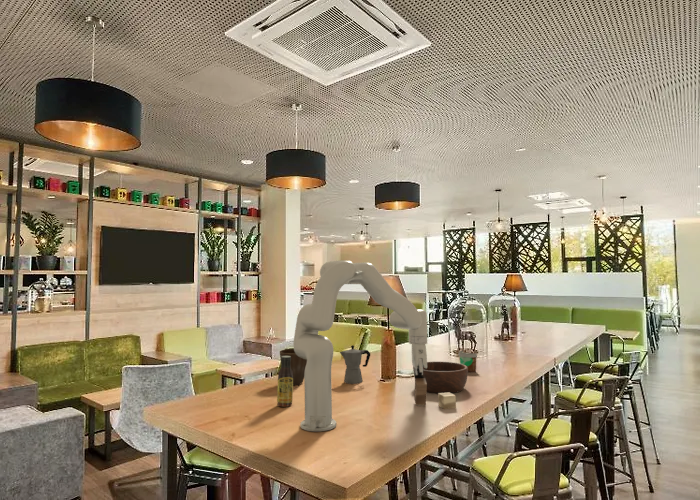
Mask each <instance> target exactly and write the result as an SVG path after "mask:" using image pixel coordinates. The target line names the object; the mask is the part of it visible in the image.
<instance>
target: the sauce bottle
mask: <svg viewBox="0 0 700 500" xmlns="http://www.w3.org/2000/svg"><path fill="white" fill-rule="evenodd" d="M290 361H291V356H281V358H280V363H281V365H280V369H279V371H278V374H277V390H276V391H277V396H276V401H277V406H278V407H280V408H286V407H287V408H288V407H292V405H293V399H294V398H293V393H294V385H293V371H292V369H291V368H290V367H291V366H290Z"/></svg>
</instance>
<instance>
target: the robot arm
mask: <svg viewBox="0 0 700 500" xmlns="http://www.w3.org/2000/svg"><path fill="white" fill-rule="evenodd" d="M319 276H320V277H319V279H318V280H317V282H316V284H315V287H314V290H313V291H314V292H313V296H312V302H311V303H307V304H305V305H303V306H302V307H301V309H300V310H299V311H298V313H297V317H296V324H295V330H294V336H293V345H292V346H293V349H294V351H295V353H296V355H297V356H299V357H300V358H303V359H306V360H307V364H306V367H305V373H304V380H303V382H304V419H303V420H301V422H300V428H301V429H302V430H304V431H307V432H326V431H330V430H333V429H334V428H336V427H337V421H336V420H335V419H334V418H333V405H332V404H333V403H332V402H333V399H332V398H333V397H332V395H333V393H332V390H333V389H332V365H333V358H334V346H333V345H334V344H333V342H332V340H330V338H328V337H327V336H325V335H322V334H319V332H325V331H329V330H330V329H331V328H332V326H333V324H334V322H335V319H334V318H335V313H336V306H337V300H338V295H339V293H340V290H341V288H342V287H343V286H344V285H360V286H362V288H363V289H364V290H365V292H367V293H368V294H369V296H370V297H371V298H372V299H373V301H374V302H375V303H376V304H378V305H381V307H385V308H387V309H390V310H391V311H392V312H391V313H390V314H389V319H388V321H389V323H390V325H391V326H392V327H394V328H396V329H403V330H408V344H409V345H411V364H412V367H413V366H414V367H415V377H414V379H415V378H423V367H424V368H425V369H427V362H428V358H427V356H428V355H427V344H428V317H427V316H428V315H427V311H426V310H425V309H418V308H416V306H415V305H414V303H412V301H410V299H408V298H407V297H405V296H404V295H403V294H401V293H400V292H399V291H397V290H395V289H394V288H393V287H392V286H391V285H390V284H389V283H388V281H387V280H386V279H385V277H384V276H383V275H382V274H381V272H379V270H378V268H376V266H375V265H374V264H372V263H371V262H354V263H353V262H352V261H351V260H347V259H346V260H333V261H332V260H331V261H327V262H325V263H323V264H322V265H321V267H320V270H319Z"/></svg>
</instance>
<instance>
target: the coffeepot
mask: <svg viewBox="0 0 700 500" xmlns="http://www.w3.org/2000/svg"><path fill="white" fill-rule="evenodd" d="M350 347H351V348H350V349H347V350H342V351H340V352H339V354H340V355H341V356H342V357H343V360H344V363H345V365H346V369H345V371H344V372H345V373H344V379H343V382H344V384H345V383H346V384H350V385H354V384H355V385H356V384H357V385H358V384H361V383H362V382H363V376H362V370H361V367H360V365H361V364H362V355H366V359H365V361H364V364H362V367H363V368H364V367H365V368H366V367H367V366H368V364H369V360H370V358H371V352H370V351H369V350H368V349H361V350H360V349H356V348H355V345H354V344H353V345H352V344H351V346H350Z"/></svg>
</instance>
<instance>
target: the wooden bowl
mask: <svg viewBox="0 0 700 500" xmlns="http://www.w3.org/2000/svg"><path fill="white" fill-rule="evenodd" d="M412 370H413V376H414V378H415V367H414V366H413V365H412ZM468 375H469V372H468V367H467V366H466V365H463V364H460V362H451V361H427V369H425V368H424V367H423V378H425V380H426V383H427V391H426V393H432V394H438V393H448V392H450V393H452V394H454V393H459V392H461V391H463V389H465V387H466V383H467V380H468Z"/></svg>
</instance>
